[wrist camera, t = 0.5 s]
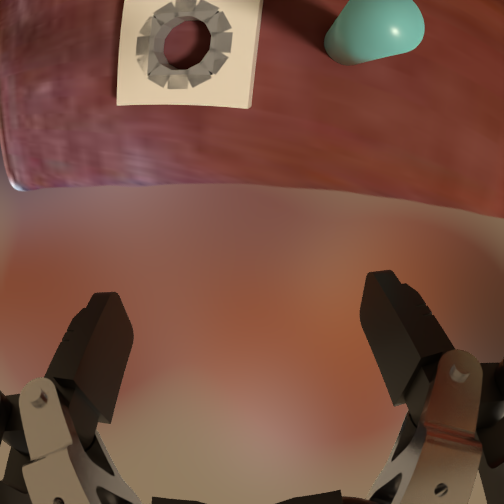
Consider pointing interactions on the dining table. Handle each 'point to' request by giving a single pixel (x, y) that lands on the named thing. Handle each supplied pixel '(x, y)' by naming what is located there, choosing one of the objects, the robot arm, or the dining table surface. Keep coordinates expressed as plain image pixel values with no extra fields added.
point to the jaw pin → (374, 30)
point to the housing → (200, 75)
